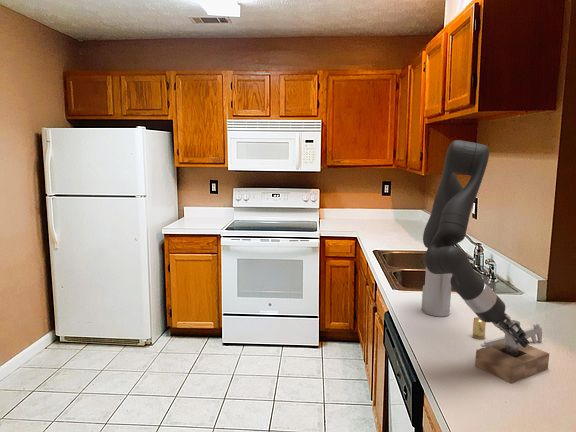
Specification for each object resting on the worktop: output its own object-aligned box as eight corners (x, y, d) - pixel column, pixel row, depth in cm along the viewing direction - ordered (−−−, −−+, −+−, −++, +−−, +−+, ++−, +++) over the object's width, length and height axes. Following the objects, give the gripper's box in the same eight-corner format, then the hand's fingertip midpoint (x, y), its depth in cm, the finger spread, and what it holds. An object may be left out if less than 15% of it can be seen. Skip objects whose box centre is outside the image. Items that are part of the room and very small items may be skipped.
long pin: (500, 365, 122) (502, 321, 120) (508, 362, 123) (510, 318, 122) (512, 371, 118) (514, 325, 117) (520, 367, 120) (523, 322, 119)
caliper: (539, 342, 138) (540, 323, 137) (541, 343, 137) (543, 324, 136) (480, 346, 135) (481, 326, 134) (482, 347, 134) (483, 328, 133)
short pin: (470, 336, 141) (471, 318, 140) (477, 334, 143) (478, 316, 142) (479, 340, 138) (480, 322, 137) (487, 338, 140) (488, 320, 139)
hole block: (475, 365, 122) (476, 350, 121) (510, 352, 130) (512, 338, 129) (511, 383, 112) (512, 367, 112) (547, 368, 120) (549, 353, 119)
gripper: (510, 299, 110) (548, 342, 113) (477, 283, 123) (512, 321, 127) (489, 321, 109) (528, 362, 113) (458, 301, 123) (494, 339, 127)
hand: (519, 340), depth 120 cm, fingers open, 4 cm apart
